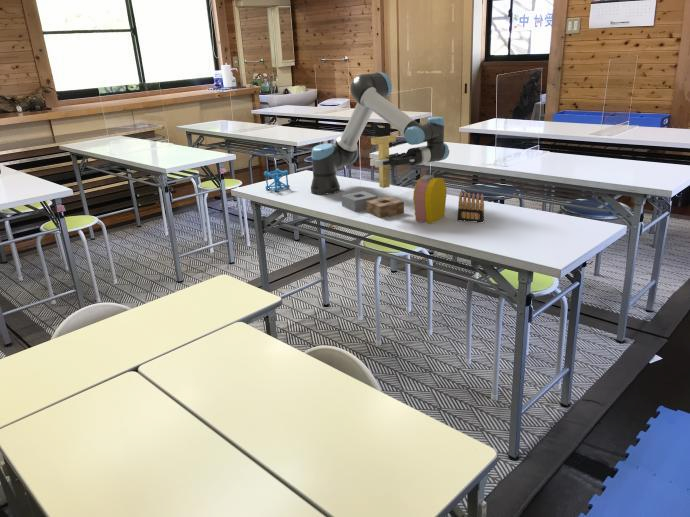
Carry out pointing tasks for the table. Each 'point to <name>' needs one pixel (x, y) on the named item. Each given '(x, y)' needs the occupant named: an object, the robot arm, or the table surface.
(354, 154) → the robot arm
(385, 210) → the block
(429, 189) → the alarm clock
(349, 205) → the block
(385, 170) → the t key
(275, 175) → the molecular structure
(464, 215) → the ammunition clip
